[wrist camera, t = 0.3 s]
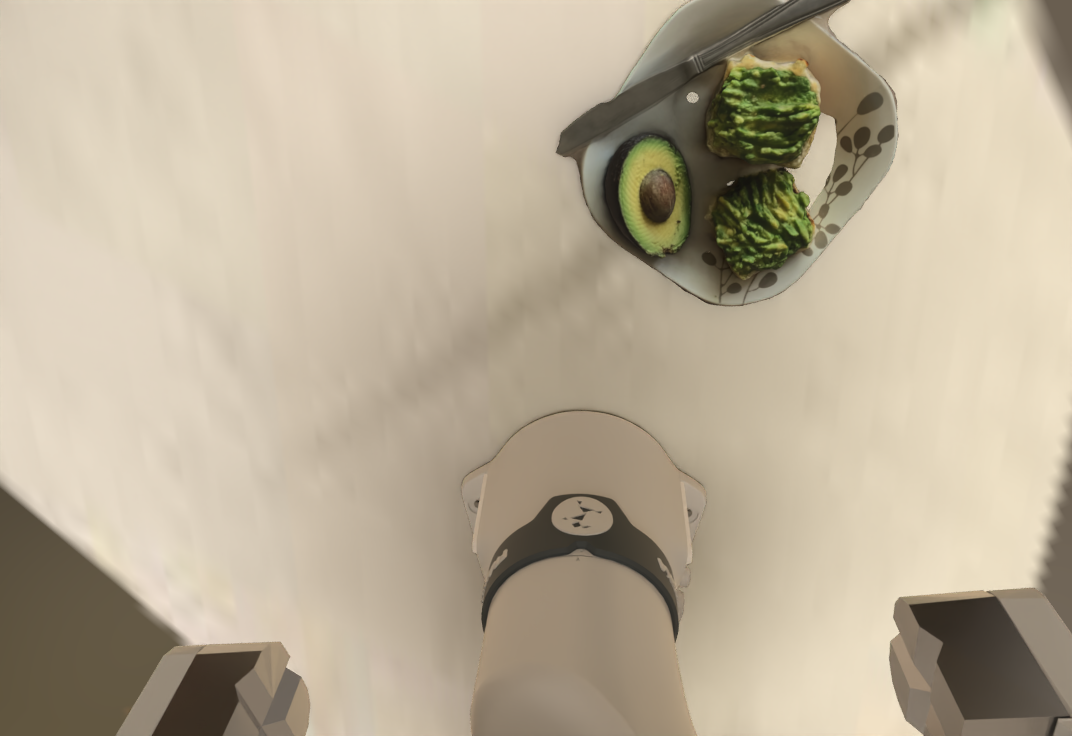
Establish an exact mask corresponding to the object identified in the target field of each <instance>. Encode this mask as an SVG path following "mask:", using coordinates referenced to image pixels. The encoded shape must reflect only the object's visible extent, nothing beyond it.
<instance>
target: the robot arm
mask: <svg viewBox="0 0 1072 736" xmlns="http://www.w3.org/2000/svg"><path fill="white" fill-rule="evenodd" d="M461 494H462V498H463V502H464V505H465V509H466V512H467V515H468V519H469V522H470V526H471V529H472V533H473V540H472V551H473V553H475V554H477V556H478V561H479V565H480V568H481V571H482V573H483V576H484V579H485V583H484V588H483V594H482V603H483V606H482V626H483V631H484V639H483V644H482V649H481V655H480V660H479V665H478V671H477V676H476V682H475V687H474V692H473V698H472V703H471V710H470V725H471V733H472V736H697V734H696V731H695V729H694V726H693V723H692V720H691V717H690V713H689V710H688V706H687V702H686V698H685V694H684V689H683V685H682V680H681V675H680V671H679V665H678V659H677V654H676V648H675V642H676V639H677V635H678V629H679V621H680V620H681V618H682V615H683V610H684V594H683V592H681V591H680V590H677V588H678V587H688V585H689V582H690V569H689V568H686V565H687V564H690V563H691V562H692V545H691V544H692V542H693V539H694V536H695V534H696V531H697V528H698V525H699V523H700V520H701V517H702V515H703V512H704V509H705V506H706V491H705V489H704V488H703V486H702V485H701V484H699V483H698V482H697V481H696V480H694V479H693V478H691V477H690V476H688V475H686V474H685V473H683V472H681V471H680V470H678V469H677V468H676V467H675V466H674V464H673V463H672V462H671V460H670V459H669V457H668V456H667V454H666V453H665V451H664V450H663V448H662V447H661V446H660V445H659V444H658V443H657V441H656V440H655V439H654V438H652V437H651V436H650V435H649V434H648V433H647V432H645V431H644V430H642V429H641V428H639V427H638V426H636V425H634V424H633V423H631V422H629V421H627V420H624V419H622V418H619V417H616V416H613V415H609V414H605V413H600V412H592V411H570V412H563V413H558V414H553V415H550V416H547V417H544V418H541V419H539V420H536V421H534V422H532V423H530V424H529V425H527V426H525V427H524V428H522V429H521V430H520V431H518V432H517V433H516V434H515V435H514V436H513V437H511V438H510V439H509V441H508V442H507V443H506V444H505V445H504V447H503V448H502V449H501V450H500V452H499V453H498V454H497V456H496V457H495V458H494V459H493V460H492V461H491V462H490V463H488V464H486V465H484V466H482V467H480V468H478V469H476V470H475V471H473V472H471V473H470V474H468V475H467V476H466V477H465V478H464V480H463V482H462V489H461ZM476 500H479V503H478V502H477V501H476ZM687 509H690V511H687ZM893 618H894V620H895V623H896V625H897V627H898V630H899V632H900V633H899V634H898V635H897V636H896V637H895V638H894V639H892V640H891V641H890V656H889V661H890V668H891V675H892V682H893V685H894V689H895V692H896V695H897V699H898V702H899V704H900V707H901V709H902V712H903V714H904V717H905V720H906V721H907V722H909V723H910V724H911V725H912V726H913V727H915V728H916V729H917V730H918V731H920V732H921V733H922V734H923V735H924V736H1072V634H1071V632H1070V631H1069V629H1068V628H1067V627H1066V625H1065V624H1064V622H1063V621H1062V619H1061V618H1060V617H1059V615H1058V614H1057V612H1056V611H1055V610H1054V608H1053V607H1052V605H1051V604H1050V603H1049V601H1048V600H1047V598H1046V597H1045V595H1044V594H1042V593H1041V592H1040V591H1038V590H1037V589H1035V588H1021V589H1007V590H993V591H986V592H985V591H983V590H980V591H968V592H956V593H943V594H931V595H919V596H907V597H899V598H898V600H897V601H896V603H895V607H894V615H893ZM289 658H290V656H289V654H288V653H287V651H286V649H285V648H284V646H283V645H282V643H281V642H260V643H234V644H209V645H192V646H175V647H174V648H173V649H172V650H170V651H169V652H168V653H167V654H165V655H164V656H163V658H162V659H161V661H160V663H159V664H158V666H157V668H156V669H155V671H154V673H153V674H152V676H151V678H150V679H149V681H148V683H147V684H146V686H145V688H144V689H143V691H142V693H141V694H140V696H139V698H138V700H137V701H136V703H135V704H134V706H133V708H132V709H131V711H130V713H129V714H128V716H127V718H126V719H125V721H124V723H123V725H122V726H121V728H120V729H119V731H118V733H117V735H116V736H305V735H306V732H307V729H308V725H309V713H310V699H309V694H308V689H307V687H306V685H305V683H304V681H303V679H302V677H301V676H299V675H297V674H296V673H294V672H292V671H291V670H289V669H287V668H286V666H287V663H288V661H289Z"/></svg>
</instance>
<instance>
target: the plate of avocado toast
mask: <svg viewBox="0 0 1072 736" xmlns="http://www.w3.org/2000/svg"><path fill="white" fill-rule="evenodd" d="M849 2H850V0H691V1H689V2H688V3H686V4H685V5H683V6H682V7H680V8H679V9H678V10H677V11H676V12H675V13H674V14H673V15H672V17H670V19H669V20H668V21H667V22H666V23H665V24H664V25H663V27H662V28H661V29H660V30H659V32H658V33H657V34H656V36H655V37H654V38H653V40H652V41H651V43H650V44H649V45H648V47H647V48H646V50H645V52H644V53H643V55H642V57H641V58H640V60H639V61H638V63H637V64H636V66H635V67H634V68H633V70H632V71H631V73H630V75H629V76H628V78H627V80H626V81H625V83H624V85H623V86H622V88H621V90H620V92H619V93H618V94H617V95H616V97H615V98H614V99H613V100H611V101H610V102H607V103H600V104H598V105H597V106H595V107H594V108H592V109H591V110H589V111H588V112H586V113H585V114H583V115H582V116H581V117H579V118H578V119H576V120H575V121H574V122H573V123H572V124H571V125H569V126H568V127H567V128H566V129H565V130H564V131H563V132H562V133H561V136H560V140H559V146H558V148H557V151H556V153H557V154H559V155H562V156H563V157H568V156H571V157H573V158H574V159H575V160H576V162H577V165H578V168H579V172H580V179H581V184H582V189H583V195H584V198H585V201H586V205H587V206H588V208H589V210H590V212H591V215H592V216H593V218H594V220H595V221H596V223H597V224H598V225H599V226H600V227H601V229H602V230H603V231H604V232H605V233H606V234H607V235H608V236H609V237H610V238H611V239H613V240H614V241H615V242H616V243H617V244H619V245H620V246H621V247H623V248H624V249H626V250H627V251H628V252H630V253H631V254H633V255H634V256H636V257H637V258H639V259H640V260H642V261H643V262H645V263H646V264H648V265H649V266H650V267H652V268H654V269H656V270H657V271H659V272H660V273H661V274H662V275H664V276H665V277H667V278H669V279H670V280H672V281H673V282H674V283H676V284H677V285H678V286H679V287H681V288H682V289H683V290H684V291H686V292H688V293H690V294H692V295H694V296H696V297H698V298H699V299H701V300H702V301H704V302H705V303H708V304H712V305H721V306H743V305H747V304H751V303H755V302H759V301H762V300H766V299H770V298H772V297H774V296H776V295H778V294H780V293H782V292H784V291H785V290H786V289H787V288H788V287H790V286H791V285H792V284H794V283H795V282H796V281H797V280H798V279H799V278H800V277H801V276H802V275H803V274H804V273H805V272H806V271H807V270H808V269H809V267H810V266H811V265H812V264H813V263H814V262H815V261H816V259H817V258H818V257H819V256H820V255H821V254H822V252H823V251H824V250H825V249H826V247H827V246H828V245H829V244H830V242H831V241H832V240H833V239H834V238H835V236H836V235H837V234H838V233H839V232H840V231H841V230H842V228H843V227H844V226H845V225H846V223H847V222H848V221H849V220H850V219H851V218H852V216H853V215H854V214H855V213H856V212H857V211H859V210H860V209H861V208H862V206H863V204H864V202H865V201H866V200H867V199H868V198H869V196H870V195H871V194H872V192H873V191H874V190H875V188H876V187H877V185H878V184H879V183H880V182H881V180H882V179H883V178H884V177H885V175H886V174H887V172H888V171H889V169H890V166H891V164H892V163H893V159H894V156H895V152H896V148H897V140H898V124H897V120H898V118H897V100H896V97H895V93H894V91H893V90H892V89H891V87H890V86H889V85H888V83H887V82H886V80H885V79H884V78H883V77H882V76H880V75H878V74H877V73H876V72H875V71H874V70H872V69H871V68H870V66H869V65H868V64H867V63H866V62H865V61H864V60H862V59H861V58H860V57H859V55H858V54H856V53H855V52H853V51H852V50H850V49H849V48H848V47H847V46H846V45H845V44H843V43H841V42H840V41H839V40H838V39H837V38H836V36H835V34H834V33H833V32H832V31H831V30H830V28H829V26H828V20H829V17H830V16H831V15H832V14H833V13H834V12H835V11H836V10H837V9H838V8H840V7H841V6H843V5H845V4H847V3H849ZM690 92H695V93H696V94H698V96H699V100H698V101H697V102H695V103H690V102H688V101H687V98H686V96H687V95H688V94H689V93H690ZM821 112H822V113H824V114H826V115H830V116H832V117H833V118H835V124H836V133H837V145H836V149H835V157H834V164H833V167H832V170H831V173H830V175H829V176H828V178H827V180H826V185H825V187H824V188H823V190H822V192H821V193H820V194H819V195H818V197H817V199H816V200H815V202H814V204H813V205H812V206H811V208H810V209H809V211H808V209H807V206H808V205H809V203H810V200H809V196H808V195H807V194H805V193H804V192H800V193H799V191H798V189H797V188H796V186H795V183H794V181H795V180H794V177H793V175H792V174H790V173H789V172H788V171H787V170H786V169H785V168H784V167H786V168H792V169H797V168H799V167H800V166H801V164H802V161H803V159H804V158H805V156H806V155H807V154H808V151H809V148H810V146H811V143H812V141H813V138H814V134H815V131H816V127H817V124H818V120H819V115H820V113H821ZM734 180H735V181H734ZM730 181H734V182H733V184H732V185H730V186H727V183H729V182H730Z"/></svg>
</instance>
